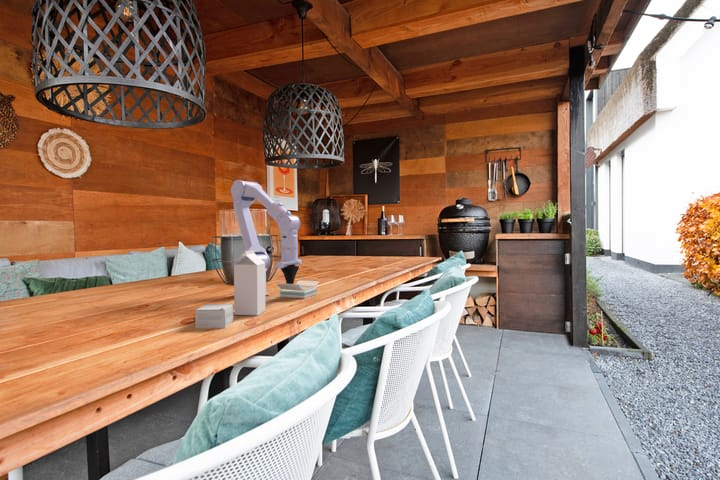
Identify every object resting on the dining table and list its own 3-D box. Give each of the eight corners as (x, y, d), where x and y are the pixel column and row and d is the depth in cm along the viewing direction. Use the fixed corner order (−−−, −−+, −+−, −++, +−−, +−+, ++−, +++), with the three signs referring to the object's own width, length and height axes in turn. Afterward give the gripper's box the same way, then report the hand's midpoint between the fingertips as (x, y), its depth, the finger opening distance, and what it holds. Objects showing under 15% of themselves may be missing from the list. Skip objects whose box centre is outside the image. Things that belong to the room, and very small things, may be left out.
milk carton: (265, 311, 124) (265, 249, 123) (257, 316, 117) (257, 251, 116) (243, 310, 125) (242, 249, 124) (234, 315, 118) (233, 251, 117)
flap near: (281, 288, 148) (277, 283, 145) (303, 289, 145) (299, 284, 142) (281, 289, 148) (276, 284, 145) (303, 290, 145) (298, 285, 142)
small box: (205, 322, 110) (205, 303, 110) (234, 321, 111) (233, 303, 111) (194, 329, 103) (194, 309, 102) (225, 329, 103) (225, 309, 103)
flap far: (315, 286, 154) (319, 281, 157) (294, 284, 157) (298, 280, 160) (315, 286, 154) (319, 282, 158) (294, 285, 157) (299, 281, 161)
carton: (304, 298, 144) (304, 291, 144) (279, 297, 148) (279, 290, 148) (316, 294, 154) (316, 287, 154) (293, 292, 157) (293, 286, 157)
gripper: (289, 250, 136) (289, 289, 136) (308, 247, 150) (308, 283, 150) (271, 249, 138) (271, 288, 139) (292, 247, 152) (292, 282, 152)
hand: (289, 286), depth 145 cm, fingers closed, pressing on flap near
